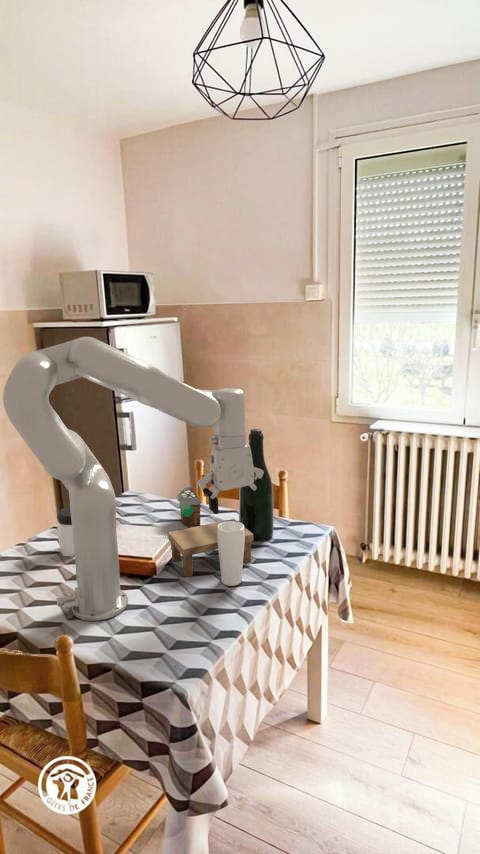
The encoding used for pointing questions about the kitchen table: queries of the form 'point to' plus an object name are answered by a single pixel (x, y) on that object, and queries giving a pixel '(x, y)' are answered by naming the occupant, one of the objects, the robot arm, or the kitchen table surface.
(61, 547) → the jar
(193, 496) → the food container
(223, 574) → the drinking glass
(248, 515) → the dark green wine bottle
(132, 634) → the kitchen table surface
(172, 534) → the footstool
